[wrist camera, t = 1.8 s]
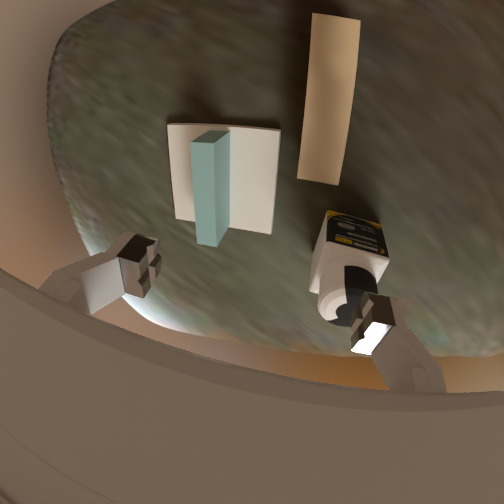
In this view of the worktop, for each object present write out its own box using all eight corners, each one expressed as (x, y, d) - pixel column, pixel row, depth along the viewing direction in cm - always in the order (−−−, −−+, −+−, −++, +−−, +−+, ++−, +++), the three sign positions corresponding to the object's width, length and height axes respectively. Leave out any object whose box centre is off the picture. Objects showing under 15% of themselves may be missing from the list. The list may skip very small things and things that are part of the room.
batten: (354, 28, 19) (360, 20, 15) (336, 167, 29) (338, 185, 25) (314, 22, 20) (312, 12, 16) (301, 161, 30) (296, 178, 26)
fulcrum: (281, 129, 28) (271, 143, 23) (272, 229, 36) (262, 258, 31) (171, 122, 30) (143, 136, 25) (179, 215, 38) (158, 239, 33)
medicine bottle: (381, 223, 31) (398, 294, 22) (361, 267, 36) (366, 339, 27) (327, 208, 32) (324, 276, 23) (312, 254, 37) (302, 326, 27)
